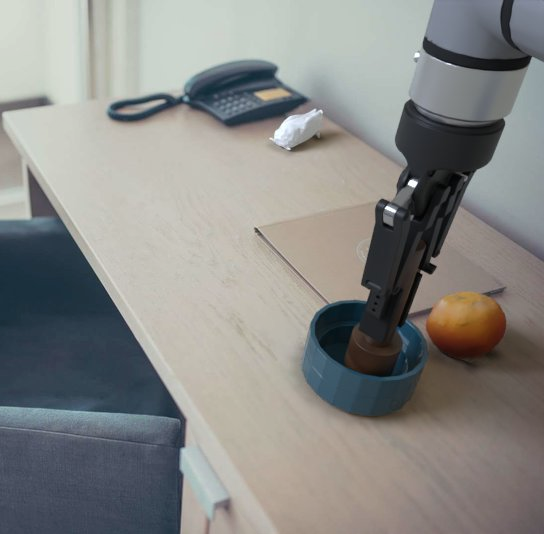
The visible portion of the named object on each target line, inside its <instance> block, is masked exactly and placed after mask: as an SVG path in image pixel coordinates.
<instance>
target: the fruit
mask: <svg viewBox="0 0 544 534" xmlns="http://www.w3.org/2000/svg"><path fill="white" fill-rule="evenodd" d="M505 313H506V312H504V310H503V308H502V306H501V304H499V303H498V301H496V300H495V299H494V298H493V297H490V296H488V295H486V294H483V293H480V292H477V291H461V292H454V293H449V294H446V296H444V297H442V298H440V299H439V300H438V301H437V302H436V303H435V304H434V305H433V306H432V308H431V311H430V313H429V315H428V317H427V319H426V322H425V330H426V331H425V332H426V333H427V335H428V336H429V337H428V338H430V340H431V342H432V344H433V345H434V346H435V347H436V348H437V350H439V351H441V352H443V353H444V354H445V355H447V356H449V357H451V358H454V359H458V360H463V361H466V362H467V363H469V364H470V365H472V363H473V362H474V361H476V360H477V359H479V358H481V357H482V356H484V355H486V354H489V353H491V354H493V351H492V350H494V349H495V348H496V347H497V346H498V345H499V344H500V342H501V341H502V339H503V338H504V336H505V334H506V330H507V318H506V317H507V316H506V314H505Z"/></svg>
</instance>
